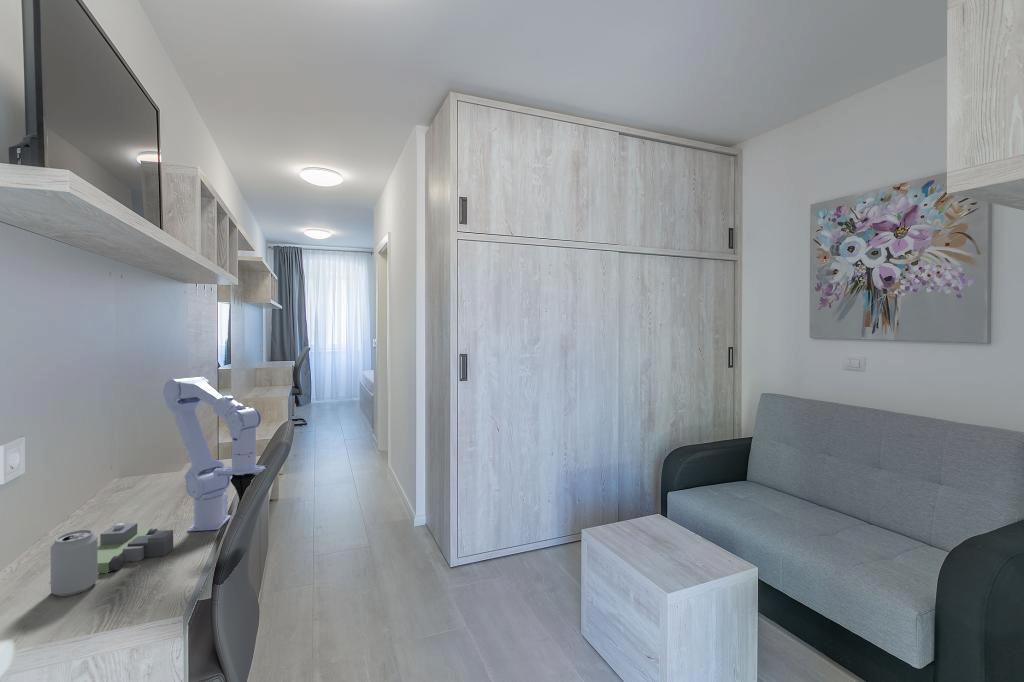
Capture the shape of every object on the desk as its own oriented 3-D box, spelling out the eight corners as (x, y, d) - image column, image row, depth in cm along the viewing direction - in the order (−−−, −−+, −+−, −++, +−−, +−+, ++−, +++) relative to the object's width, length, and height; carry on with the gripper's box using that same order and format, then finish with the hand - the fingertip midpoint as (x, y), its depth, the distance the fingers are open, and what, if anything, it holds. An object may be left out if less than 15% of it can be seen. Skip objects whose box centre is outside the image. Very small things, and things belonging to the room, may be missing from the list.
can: (62, 582, 104) (62, 529, 104) (104, 577, 107) (103, 525, 106) (42, 601, 97) (42, 544, 97) (87, 594, 100) (87, 539, 99)
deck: (108, 541, 124) (108, 518, 124) (169, 537, 127) (169, 514, 127) (55, 577, 106) (55, 550, 106) (127, 571, 109) (127, 545, 109)
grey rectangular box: (138, 550, 119) (138, 532, 119) (173, 547, 121) (173, 529, 121) (127, 558, 115) (127, 539, 115) (164, 555, 116) (164, 537, 116)
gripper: (208, 457, 123) (208, 508, 124) (267, 455, 126) (267, 504, 127) (219, 450, 130) (219, 498, 131) (275, 448, 133) (275, 495, 133)
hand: (243, 501), depth 129 cm, fingers closed
